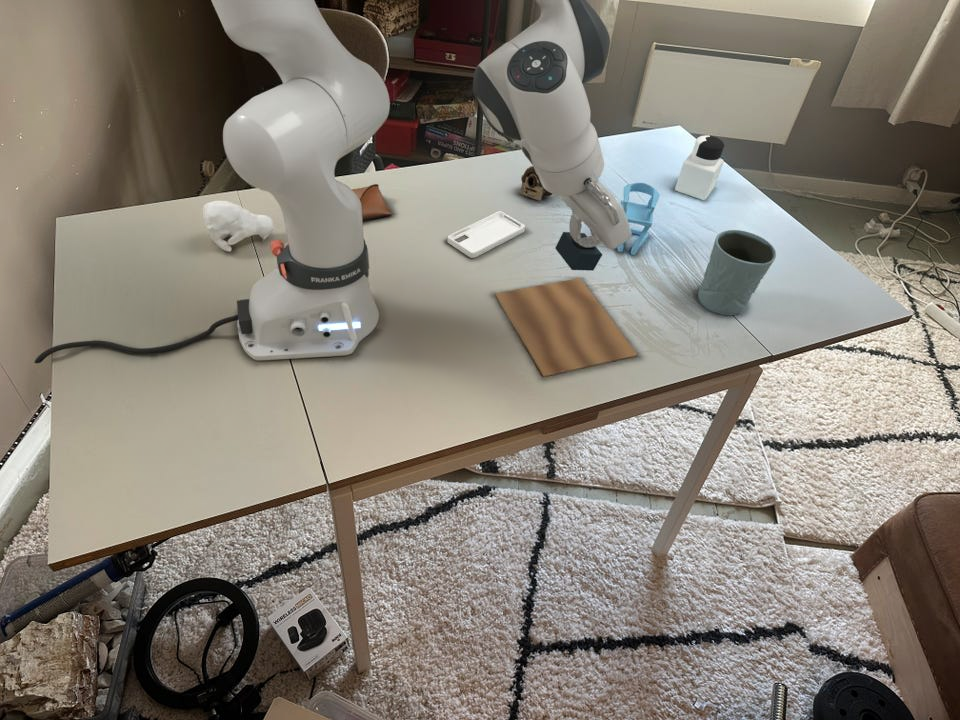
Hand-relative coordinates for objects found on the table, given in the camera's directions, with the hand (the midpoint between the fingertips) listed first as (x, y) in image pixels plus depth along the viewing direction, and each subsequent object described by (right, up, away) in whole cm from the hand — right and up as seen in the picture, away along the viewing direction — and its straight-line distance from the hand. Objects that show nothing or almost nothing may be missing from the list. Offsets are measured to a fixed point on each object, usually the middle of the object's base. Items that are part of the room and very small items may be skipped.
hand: (589, 225), depth 96 cm
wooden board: (-2, -14, +13) cm, 19 cm away
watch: (-2, -5, +4) cm, 7 cm away
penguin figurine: (-61, +2, +24) cm, 65 cm away
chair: (+13, +3, +32) cm, 35 cm away
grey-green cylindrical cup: (+28, -10, +21) cm, 36 cm away
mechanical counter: (-2, +16, +44) cm, 46 cm away
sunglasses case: (-44, +8, +32) cm, 55 cm away
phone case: (-15, +4, +30) cm, 34 cm away
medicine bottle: (+32, +18, +50) cm, 62 cm away
